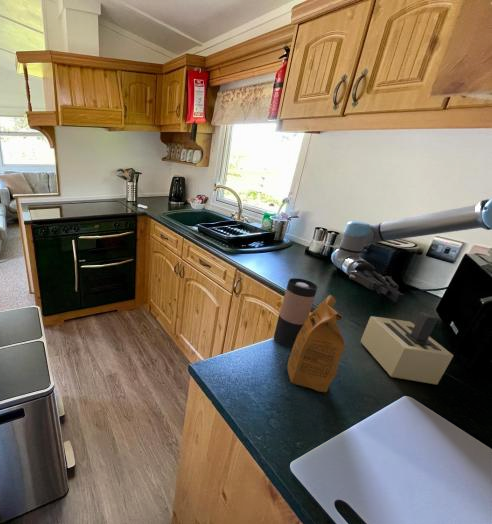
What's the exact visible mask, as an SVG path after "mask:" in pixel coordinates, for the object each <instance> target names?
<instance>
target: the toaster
mask: <svg viewBox="0 0 492 524" xmlns="http://www.w3.org/2000/svg"><path fill="white" fill-rule="evenodd" d="M414 326H415V324H414V323H413V322H412V321H408V320H401V319H394V318H389V317H381V316H373V315H371V316H370V317H369V319H368V321H367V324H366V326H365V329H364V332H363V333H362V336H361V339H360V341H359V342H360V343H361V344H362V345H363V347H364V348H365V349H366V350H367V351H368V352H369V354H371V356H372V357H373V358H374V359H375V360H376V361H377V362H378V364H379V365H380V366H381V367H382V368H383V370H384V371H386V373H387V374H388V375H389V376H390V377H391V378H394V379H395V378H396V379H401V380H407V381H413V382H417V383H425V384H430V385H431V384H432V385H439V382H440V381H441V379H442V377H443V376H444V374H445V372H446V370H447V368H448V367H449V365H450V363H451V361H452V359H454V354H453V353H451V352H450V351H448V350H447V349H446V348H445V347H444V346H443V345H441V344H440V343H439V342H437V341H436V340H435V339H434V338H432V337H431V336H429V338H428V340H427V341H428V342H429V343H430V344H431V345H430V346H428V345H421V344H415V343H414V342H413V341H412V340H411V339H409V338H408V337H407V336H406V335H405V334H406V333H408V334H411V333H412V330H413V328H414Z"/></svg>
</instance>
